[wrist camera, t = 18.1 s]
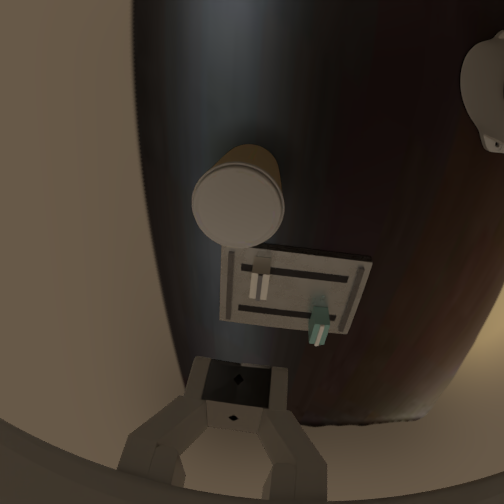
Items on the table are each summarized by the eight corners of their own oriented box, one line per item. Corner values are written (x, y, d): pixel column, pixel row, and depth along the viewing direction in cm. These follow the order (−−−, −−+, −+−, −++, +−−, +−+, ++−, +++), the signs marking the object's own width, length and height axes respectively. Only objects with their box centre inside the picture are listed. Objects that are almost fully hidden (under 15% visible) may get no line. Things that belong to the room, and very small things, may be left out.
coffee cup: (249, 217, 45) (238, 266, 35) (200, 171, 42) (171, 209, 32) (300, 173, 41) (304, 213, 31) (249, 122, 38) (234, 144, 28)
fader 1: (271, 258, 46) (269, 276, 43) (268, 282, 49) (266, 301, 45) (254, 256, 47) (251, 274, 43) (252, 280, 49) (248, 299, 45)
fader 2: (328, 307, 50) (330, 327, 47) (322, 326, 53) (323, 346, 49) (313, 306, 50) (314, 325, 47) (308, 325, 53) (308, 345, 49)
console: (370, 256, 47) (373, 265, 45) (346, 327, 55) (347, 336, 53) (223, 238, 48) (220, 246, 46) (221, 313, 56) (218, 322, 54)
